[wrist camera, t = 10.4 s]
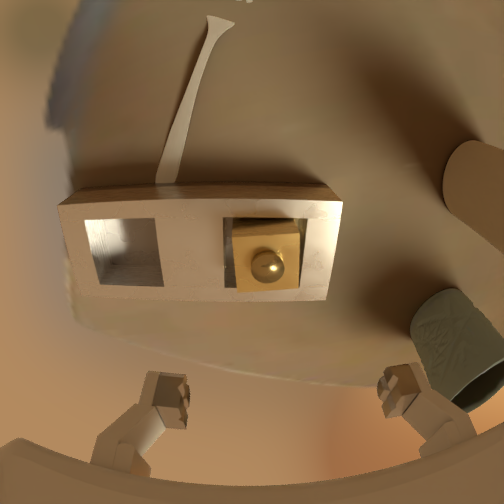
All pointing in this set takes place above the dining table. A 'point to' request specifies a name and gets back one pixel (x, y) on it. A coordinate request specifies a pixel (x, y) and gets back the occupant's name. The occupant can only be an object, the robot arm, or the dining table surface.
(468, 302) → the green cup
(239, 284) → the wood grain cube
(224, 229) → the tan windowed box
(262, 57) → the dining table surface
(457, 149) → the travel mug
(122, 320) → the dining table surface
